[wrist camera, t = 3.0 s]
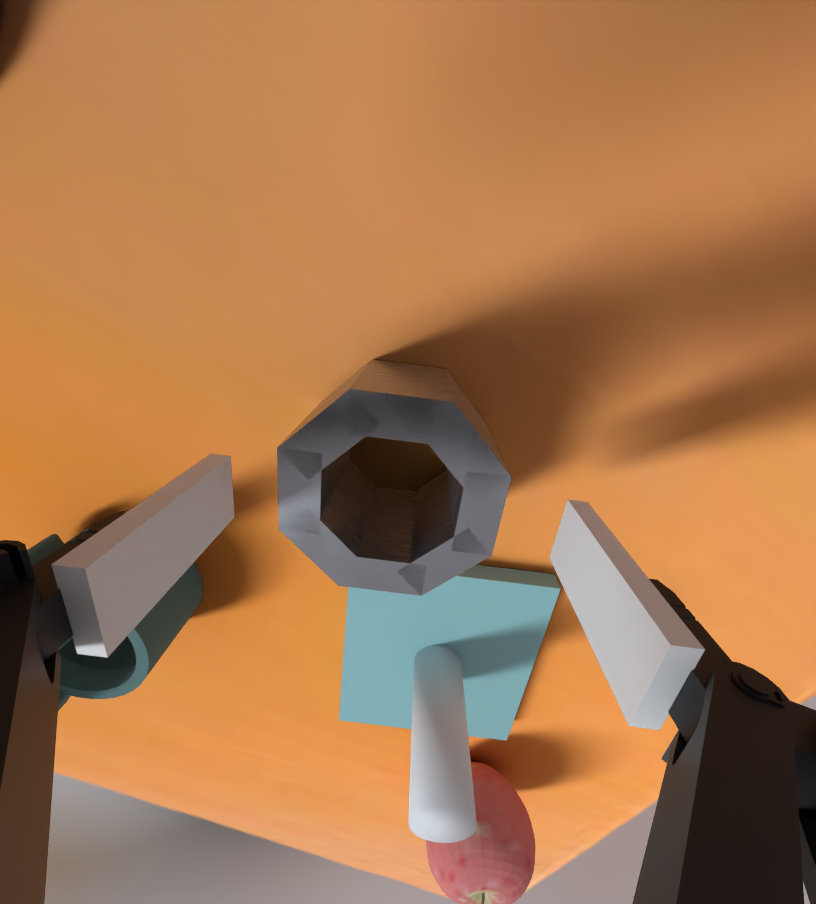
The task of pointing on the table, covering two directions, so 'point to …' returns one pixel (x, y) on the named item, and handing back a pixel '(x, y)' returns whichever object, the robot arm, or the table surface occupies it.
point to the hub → (387, 509)
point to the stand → (445, 677)
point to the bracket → (135, 650)
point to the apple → (488, 846)
